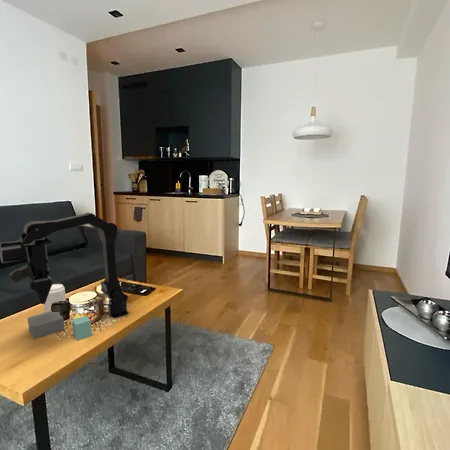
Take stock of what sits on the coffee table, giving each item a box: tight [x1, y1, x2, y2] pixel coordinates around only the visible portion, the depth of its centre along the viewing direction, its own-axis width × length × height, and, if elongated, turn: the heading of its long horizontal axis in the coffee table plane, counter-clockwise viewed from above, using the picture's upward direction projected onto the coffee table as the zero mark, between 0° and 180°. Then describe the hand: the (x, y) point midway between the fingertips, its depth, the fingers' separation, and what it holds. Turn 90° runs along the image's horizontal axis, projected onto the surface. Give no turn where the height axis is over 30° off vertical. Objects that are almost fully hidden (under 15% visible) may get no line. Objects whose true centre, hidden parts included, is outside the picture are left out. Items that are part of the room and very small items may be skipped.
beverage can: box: [43, 283, 67, 313], centre depth 126 cm, size 8×8×12 cm
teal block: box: [71, 315, 93, 341], centre depth 109 cm, size 5×5×6 cm
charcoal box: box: [27, 311, 65, 340], centre depth 113 cm, size 10×10×5 cm
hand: (42, 299), depth 107 cm, fingers open, 9 cm apart
